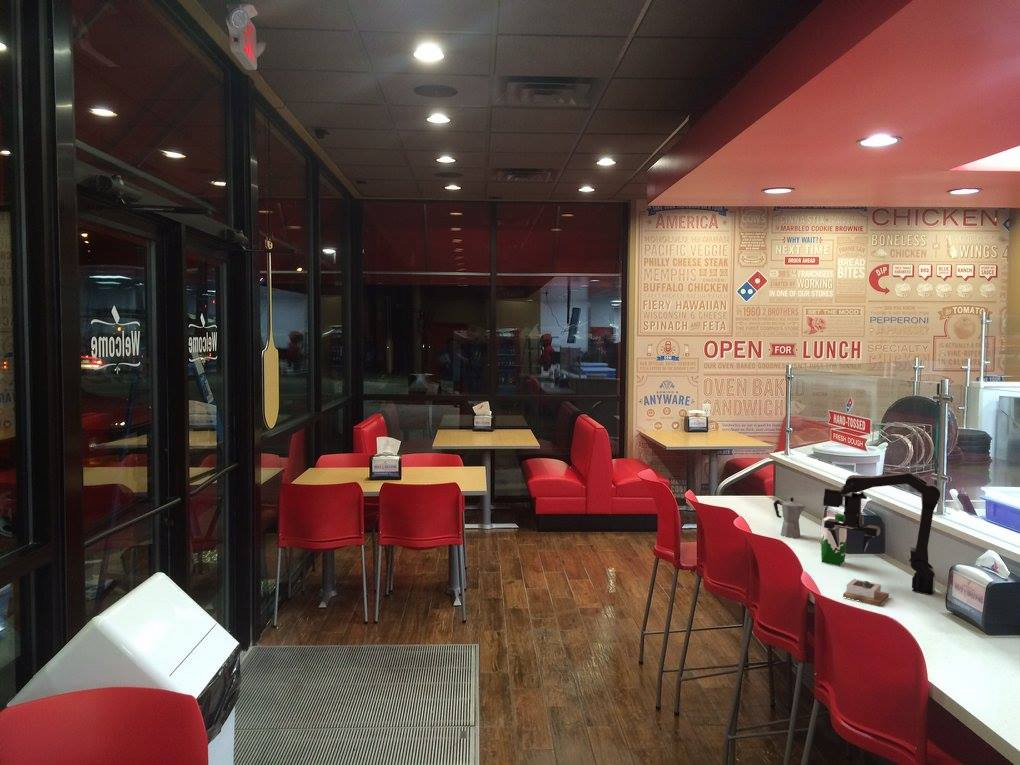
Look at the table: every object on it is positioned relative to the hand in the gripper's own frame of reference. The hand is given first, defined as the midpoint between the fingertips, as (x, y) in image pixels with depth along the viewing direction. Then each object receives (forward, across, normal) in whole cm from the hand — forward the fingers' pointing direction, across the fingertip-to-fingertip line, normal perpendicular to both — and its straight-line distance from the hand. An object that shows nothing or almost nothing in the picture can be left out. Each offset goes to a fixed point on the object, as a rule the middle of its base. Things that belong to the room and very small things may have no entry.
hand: (850, 549), depth 276 cm
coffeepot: (+12, +41, -50) cm, 66 cm away
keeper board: (+12, -10, +16) cm, 22 cm away
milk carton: (+12, +12, -20) cm, 26 cm away
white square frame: (+10, -9, +16) cm, 21 cm away
